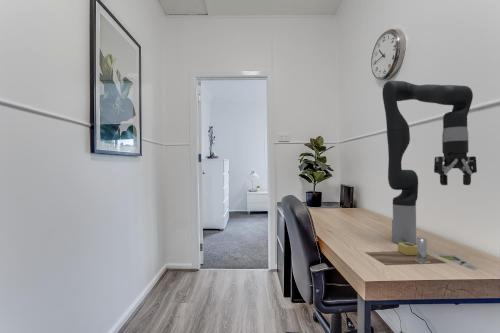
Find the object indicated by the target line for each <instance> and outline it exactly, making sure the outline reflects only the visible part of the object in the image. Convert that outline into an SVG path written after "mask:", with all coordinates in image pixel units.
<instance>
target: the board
mask: <svg viewBox="0 0 500 333" xmlns="http://www.w3.org/2000/svg"><path fill="white" fill-rule="evenodd" d="M364 253H365V254H366V255H368V256H369V257H371V258H373V259H375V260H376V261H378V262H379V263H381V264H383V265H385V266H398V265H399V266H402V265H405V266H406V265H429V264H436V265H437V264H447V262H446V261H444V260H441V259H439V258H437V257H434V256H432V255H430V254H427V262H420V261H417V255H405V254H403V253H401V252H399V251H398V250H397V251H396V250H395V251H394V250H393V251H392V250H391V251H364Z"/></svg>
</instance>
